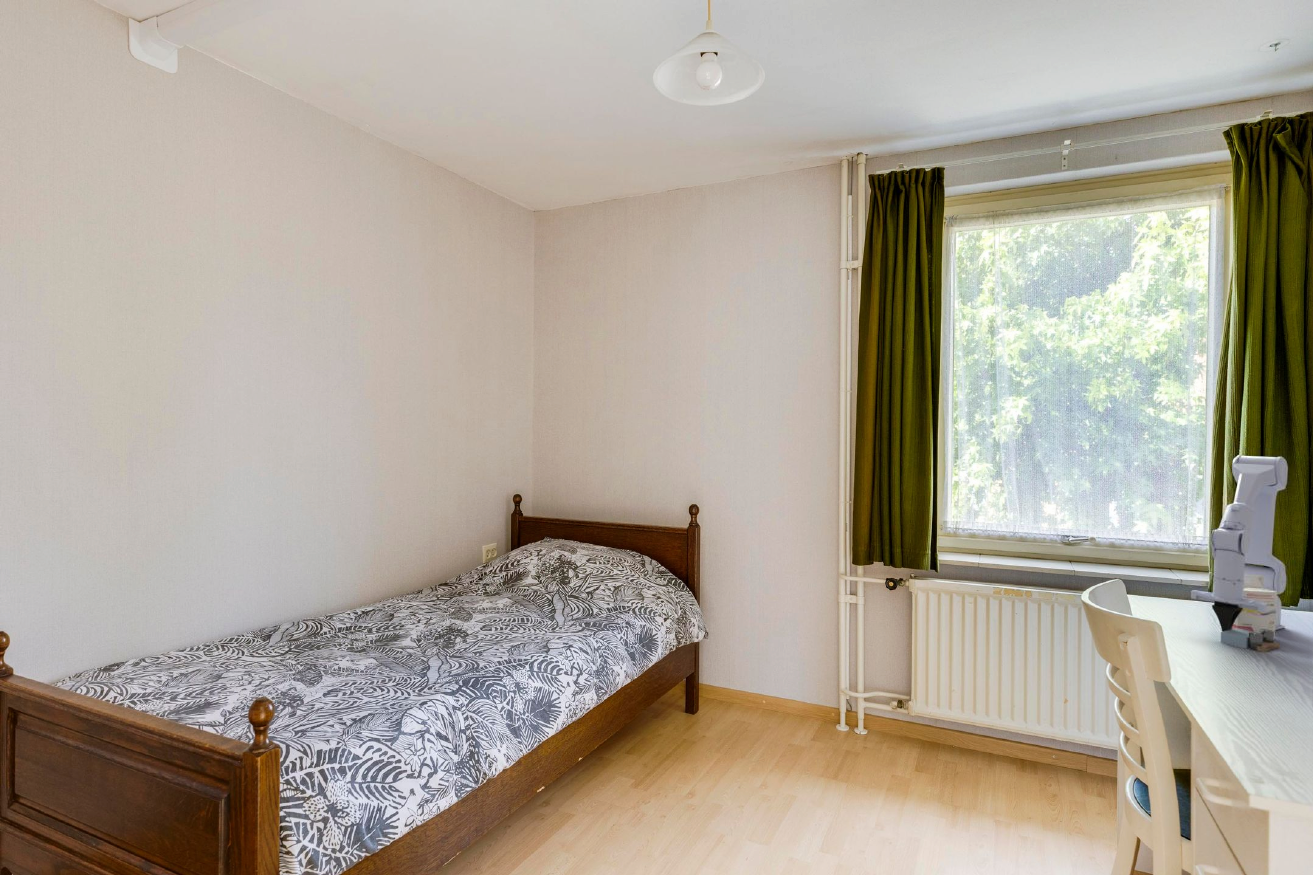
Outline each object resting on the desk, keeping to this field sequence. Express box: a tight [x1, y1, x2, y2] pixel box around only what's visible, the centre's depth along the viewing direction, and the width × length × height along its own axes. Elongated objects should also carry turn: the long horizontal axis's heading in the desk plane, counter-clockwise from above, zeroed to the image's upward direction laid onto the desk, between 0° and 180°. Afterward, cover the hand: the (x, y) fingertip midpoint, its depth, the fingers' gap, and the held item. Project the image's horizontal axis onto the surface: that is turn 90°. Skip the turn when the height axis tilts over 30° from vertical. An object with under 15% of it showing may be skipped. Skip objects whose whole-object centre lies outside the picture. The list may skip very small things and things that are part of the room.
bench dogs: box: [1247, 629, 1280, 653], centre depth 164 cm, size 8×3×4 cm, turn 120°
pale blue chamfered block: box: [1220, 628, 1260, 649], centre depth 168 cm, size 8×5×2 cm, turn 120°
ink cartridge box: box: [1232, 575, 1278, 640], centre depth 174 cm, size 9×5×15 cm, turn 84°
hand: (1226, 634), depth 171 cm, fingers closed
